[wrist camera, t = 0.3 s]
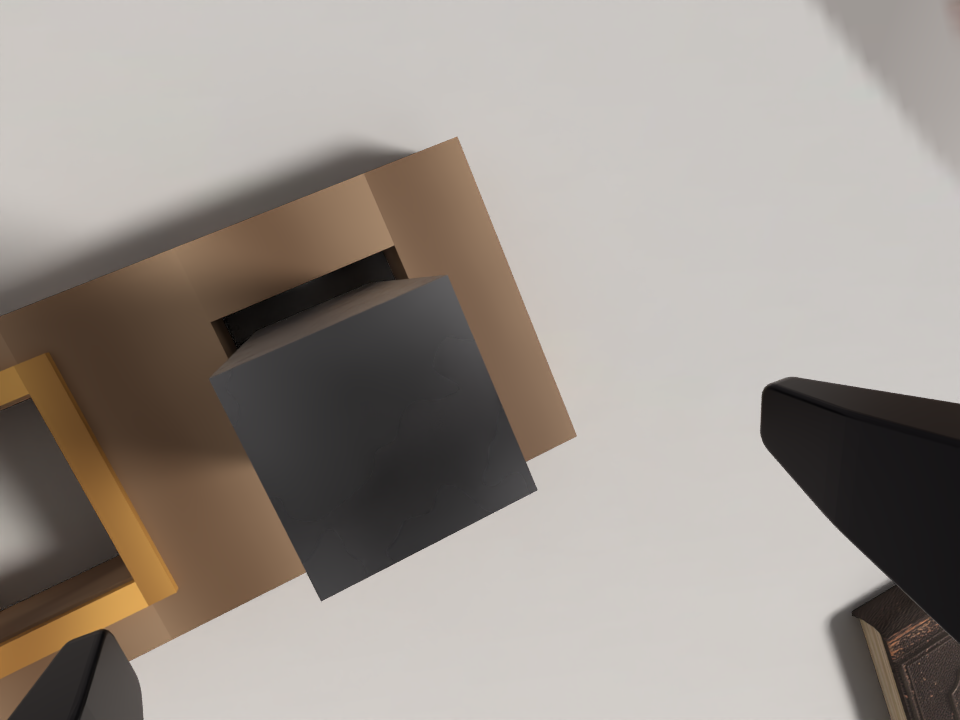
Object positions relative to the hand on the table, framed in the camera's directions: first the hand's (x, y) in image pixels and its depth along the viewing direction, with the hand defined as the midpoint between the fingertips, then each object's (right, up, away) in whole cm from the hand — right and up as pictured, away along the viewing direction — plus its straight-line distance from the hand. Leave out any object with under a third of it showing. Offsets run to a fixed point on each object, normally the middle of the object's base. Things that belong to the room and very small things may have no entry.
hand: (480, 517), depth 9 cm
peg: (-5, +2, +14) cm, 15 cm away
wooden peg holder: (-9, 0, +13) cm, 16 cm away
